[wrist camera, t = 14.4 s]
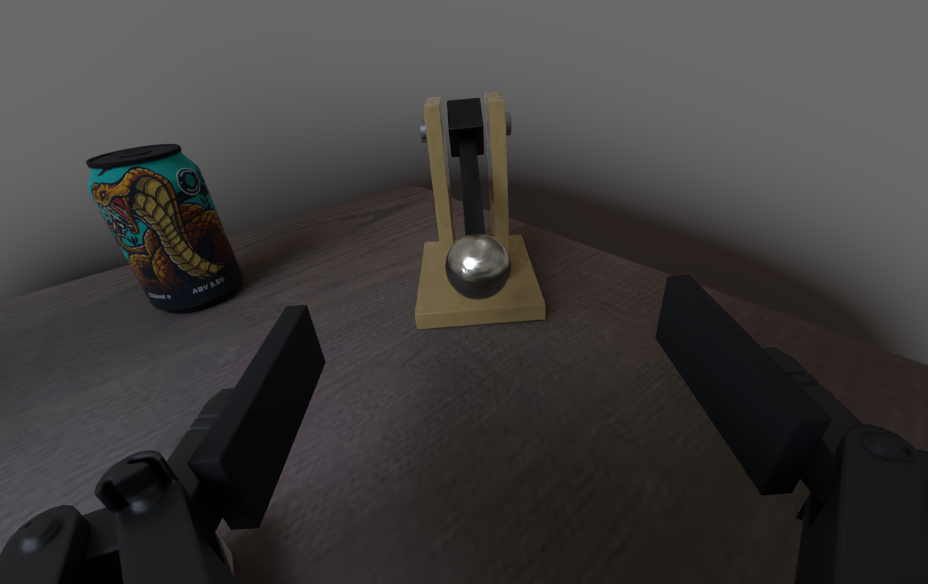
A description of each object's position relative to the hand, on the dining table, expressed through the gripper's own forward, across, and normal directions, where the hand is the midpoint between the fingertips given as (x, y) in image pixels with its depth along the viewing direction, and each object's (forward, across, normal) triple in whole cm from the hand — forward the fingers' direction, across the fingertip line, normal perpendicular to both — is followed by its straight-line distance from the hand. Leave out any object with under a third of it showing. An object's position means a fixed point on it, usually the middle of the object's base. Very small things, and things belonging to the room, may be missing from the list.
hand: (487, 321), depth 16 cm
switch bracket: (+17, 0, -8) cm, 19 cm away
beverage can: (+18, -24, -8) cm, 31 cm away
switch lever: (+13, 0, 0) cm, 13 cm away
